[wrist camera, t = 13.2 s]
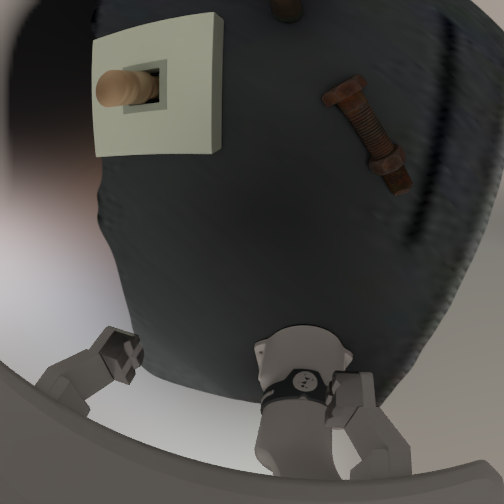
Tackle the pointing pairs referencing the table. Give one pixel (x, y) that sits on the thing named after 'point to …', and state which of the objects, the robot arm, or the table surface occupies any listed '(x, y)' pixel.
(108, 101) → the peg
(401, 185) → the bolt
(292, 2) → the grenade
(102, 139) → the board
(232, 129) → the table surface
